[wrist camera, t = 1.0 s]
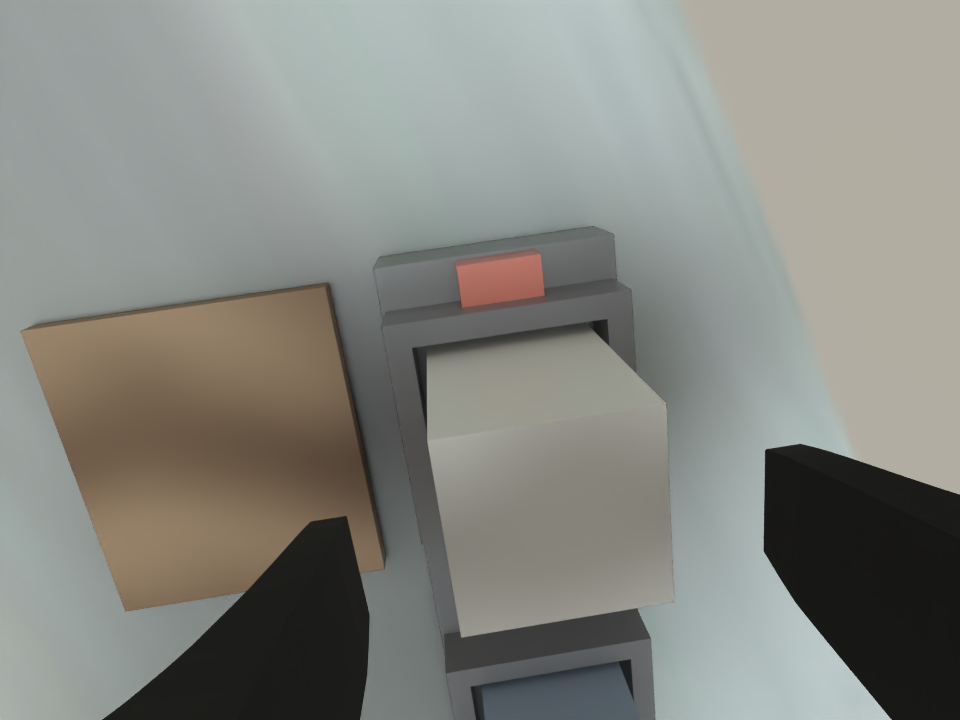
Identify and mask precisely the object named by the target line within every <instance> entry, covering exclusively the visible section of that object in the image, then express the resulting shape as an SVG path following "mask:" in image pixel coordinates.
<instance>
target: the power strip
mask: <svg viewBox="0 0 960 720" xmlns="http://www.w3.org/2000/svg"><path fill="white" fill-rule="evenodd" d="M373 271H374V276H375V281H376V287H377V292H378V298H379V303H380V308H381V314H382V319H383V322H382V326H381V329H382V334H383V339H384V345H385V350H386V355H387V361H388V366H389V371H390V377H391V382H392V388H393V393H394V398H395V404H396V409H397V414H398V420H399V425H400V430H401V436H402V441H403V446H404V452H405V457H406V462H407V468H408V473H409V479H410V484H411V489H412V495H413V500H414V505H415V511H416V516H417V521H418V527H419V532H420V537H421V543H422V544H424V546H425V551H426V557H427V562H428V567H429V573H430V578H431V583H432V589H433V594H434V600H435V605H436V610H437V616H438V621H439V627H440V632H441V637H442V643H443V648H444V654H445V663H446V677H447V682H448V687H449V693H450V698H451V703H452V709H453V714H454V719H455V720H485V714H484V705H483V696H482V686H481V685H482V684H488V683H494V682H500V681H506V680H512V679H517V678H523V677H529V676H535V675H541V674H547V673H552V672H558V671H564V670H570V669H576V668H582V667H587V666H593V665H599V664H605V663H611V662H617V661H618V662H619V664H620V667H621V670H622V672H623V675H624V677H625V680H626V683H627V685H628V688H629V690H630V693H631V696H632V698H633V701H634V703H635V706H636V709H637V711H638V714H639V716H640V719H641V720H655V704H654V686H653V668H652V650H651V638H650V636H649V633H648V631H647V629H646V627H645V625H644V623H643V621H642V619H641V617H640V614H639V612H638V608H635V609H629V610H623V611H617V612H611V613H605V614H599V615H593V616H587V617H581V618H575V619H569V620H563V621H557V622H551V623H545V624H539V625H534V626H528V627H522V628H516V629H510V630H504V631H498V632H492V633H486V634H480V635H474V636H468V637H462V638H461V633H460V627H459V621H458V616H457V610H456V604H455V598H454V593H453V587H452V581H451V575H450V570H449V564H448V558H447V552H446V546H445V541H444V535H443V529H442V523H441V518H440V512H439V506H438V500H437V494H436V489H435V483H434V477H433V471H432V466H431V460H430V454H429V448H428V442H427V346H429V345H436V344H443V343H449V342H456V341H463V340H469V339H476V338H483V337H489V336H496V335H503V334H509V333H516V332H523V331H530V330H536V329H543V328H550V327H556V326H563V325H570V324H576V323H583V322H585V323H586V324H587V325H588V326H589V327H590V328H591V329H592V330H593V331H594V332H595V333H596V334H597V335H598V336H599V337H600V338H601V339H602V340H603V341H604V342H605V343H606V344H607V345H608V346H609V347H610V348H611V349H612V350H613V351H614V352H615V353H616V354H617V355H618V356H619V357H620V358H621V359H622V360H623V361H624V362H625V363H626V364H627V365H628V366H629V367H630V368H631V369H632V370H633V371H634V372H635V373H636V363H635V345H634V327H633V309H632V291H631V289H629V288H627V287H626V286H624V285H623V284H621V283H619V282H618V281H617V274H616V258H615V242H614V234H612V233H610V232H607V231H604V230H602V229H599V228H597V227H594V226H592V227H585V228H578V229H571V230H564V231H557V232H550V233H543V234H536V235H529V236H522V237H515V238H508V239H501V240H494V241H487V242H480V243H473V244H466V245H459V246H452V247H446V248H439V249H432V250H425V251H418V252H411V253H404V254H397V255H390V256H383V257H379V258H378V260H377V262H376V264H375V266H374V268H373Z"/></svg>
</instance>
